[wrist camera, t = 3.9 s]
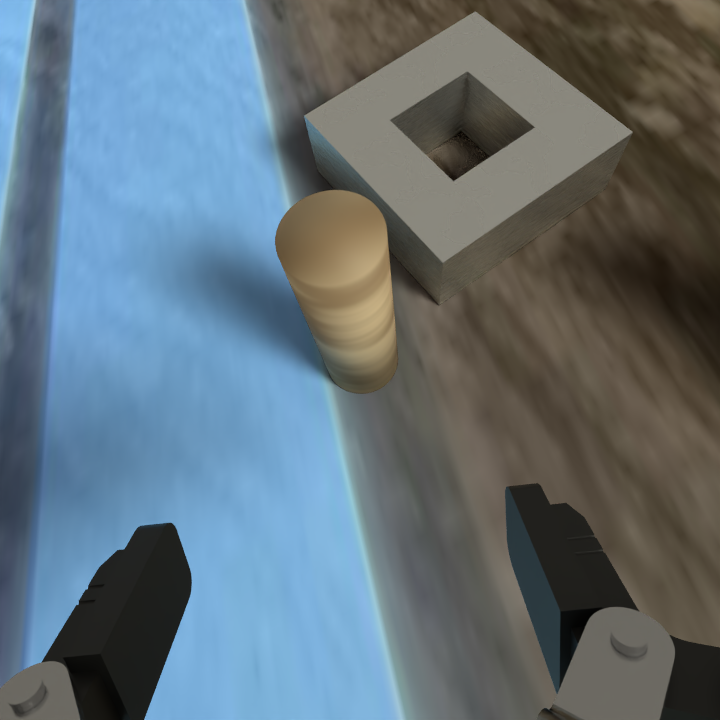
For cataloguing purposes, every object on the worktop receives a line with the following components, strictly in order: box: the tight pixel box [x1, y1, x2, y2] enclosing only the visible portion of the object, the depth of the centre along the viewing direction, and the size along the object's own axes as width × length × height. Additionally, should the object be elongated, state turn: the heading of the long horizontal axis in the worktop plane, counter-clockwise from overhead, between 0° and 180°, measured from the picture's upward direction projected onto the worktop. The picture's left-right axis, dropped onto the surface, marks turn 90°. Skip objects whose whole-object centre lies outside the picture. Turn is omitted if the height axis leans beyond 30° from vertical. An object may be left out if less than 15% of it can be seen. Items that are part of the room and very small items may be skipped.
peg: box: [275, 190, 398, 394], centre depth 27 cm, size 4×4×13 cm
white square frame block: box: [304, 12, 633, 305], centre depth 35 cm, size 14×14×5 cm
